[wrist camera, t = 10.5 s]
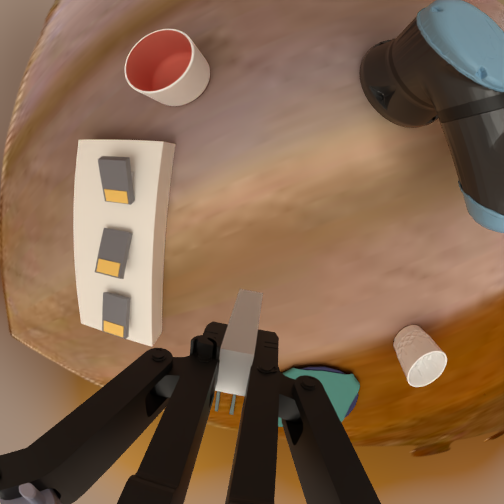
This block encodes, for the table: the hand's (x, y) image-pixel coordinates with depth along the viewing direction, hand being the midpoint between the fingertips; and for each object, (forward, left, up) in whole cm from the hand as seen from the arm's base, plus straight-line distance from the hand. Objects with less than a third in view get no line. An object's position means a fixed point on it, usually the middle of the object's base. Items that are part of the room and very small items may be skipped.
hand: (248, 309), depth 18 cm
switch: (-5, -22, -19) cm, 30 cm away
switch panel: (+6, -24, -26) cm, 36 cm away
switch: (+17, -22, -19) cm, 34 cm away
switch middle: (+6, -22, -19) cm, 30 cm away
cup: (-22, -17, -27) cm, 39 cm away
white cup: (+16, +31, -27) cm, 44 cm away
